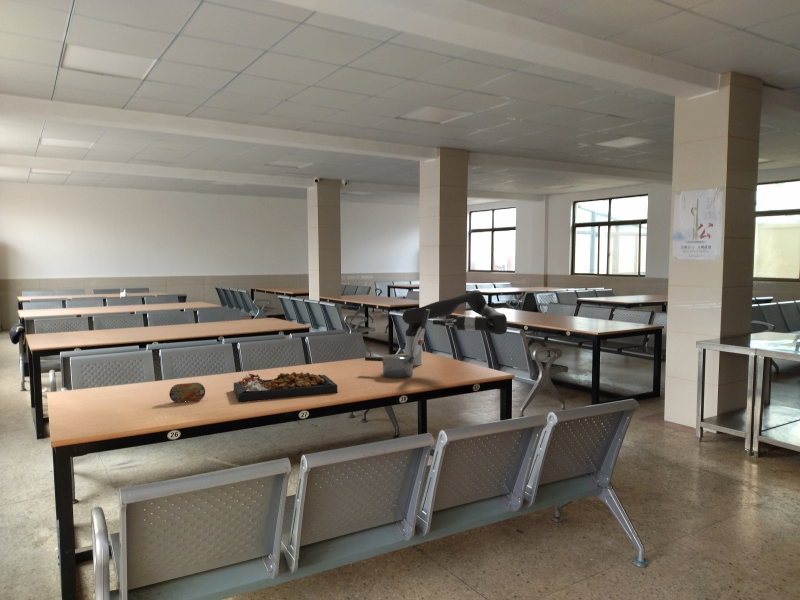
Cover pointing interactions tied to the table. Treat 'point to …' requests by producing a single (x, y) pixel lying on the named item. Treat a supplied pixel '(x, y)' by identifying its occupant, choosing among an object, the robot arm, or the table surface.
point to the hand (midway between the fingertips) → (433, 322)
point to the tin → (187, 392)
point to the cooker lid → (420, 335)
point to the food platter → (283, 387)
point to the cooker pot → (395, 365)
